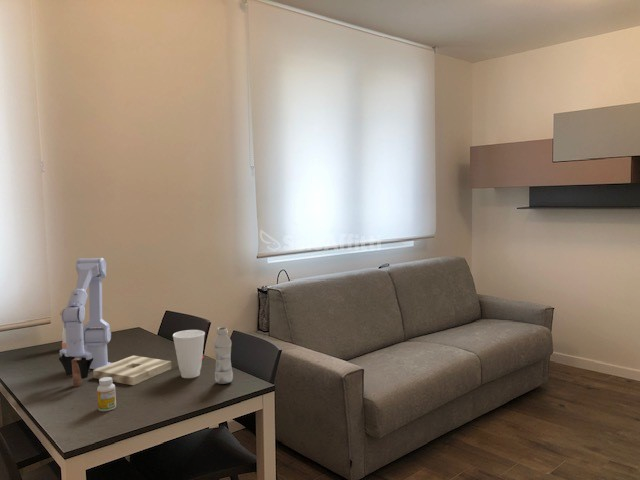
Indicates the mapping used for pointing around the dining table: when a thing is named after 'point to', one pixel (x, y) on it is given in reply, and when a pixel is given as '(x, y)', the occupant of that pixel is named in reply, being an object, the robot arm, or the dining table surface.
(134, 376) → the socket block
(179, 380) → the dining table surface
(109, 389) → the supplement bottle
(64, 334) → the salt shaker
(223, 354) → the plastic bottle
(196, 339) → the cup
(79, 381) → the peg
